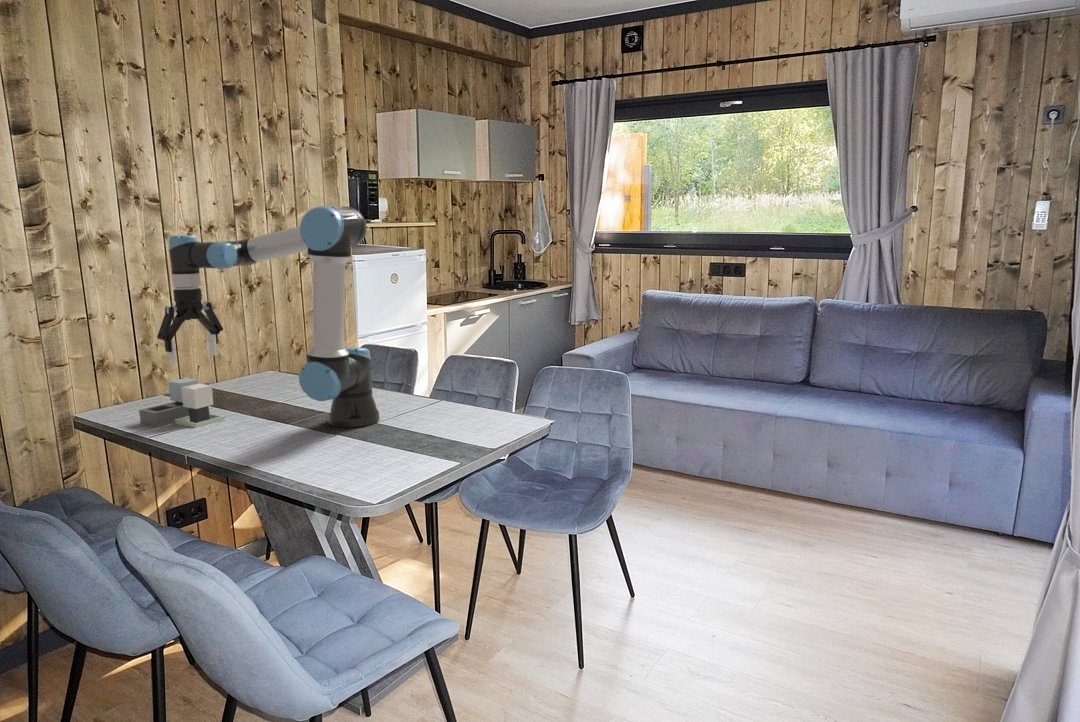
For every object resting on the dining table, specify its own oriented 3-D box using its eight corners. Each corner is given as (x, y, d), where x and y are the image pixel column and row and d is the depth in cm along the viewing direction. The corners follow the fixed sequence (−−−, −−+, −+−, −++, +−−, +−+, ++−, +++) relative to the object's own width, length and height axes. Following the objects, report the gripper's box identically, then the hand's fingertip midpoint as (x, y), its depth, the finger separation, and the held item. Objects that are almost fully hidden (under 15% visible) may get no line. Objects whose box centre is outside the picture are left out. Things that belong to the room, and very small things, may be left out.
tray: (224, 421, 233) (224, 416, 232) (196, 429, 224) (195, 423, 224) (204, 417, 238) (203, 412, 237) (175, 425, 229) (174, 419, 229)
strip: (218, 413, 243) (214, 376, 240) (157, 429, 225) (152, 390, 223) (202, 410, 247) (198, 374, 244) (140, 426, 229) (136, 387, 227)
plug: (214, 420, 232) (211, 385, 230) (197, 425, 227) (194, 389, 225) (202, 418, 235) (199, 383, 233) (184, 422, 230) (181, 387, 228)
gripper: (215, 284, 236) (221, 351, 240) (139, 291, 215) (146, 364, 219) (231, 285, 232) (237, 353, 236) (155, 292, 211) (162, 367, 215)
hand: (193, 358), depth 227 cm, fingers open, 13 cm apart
